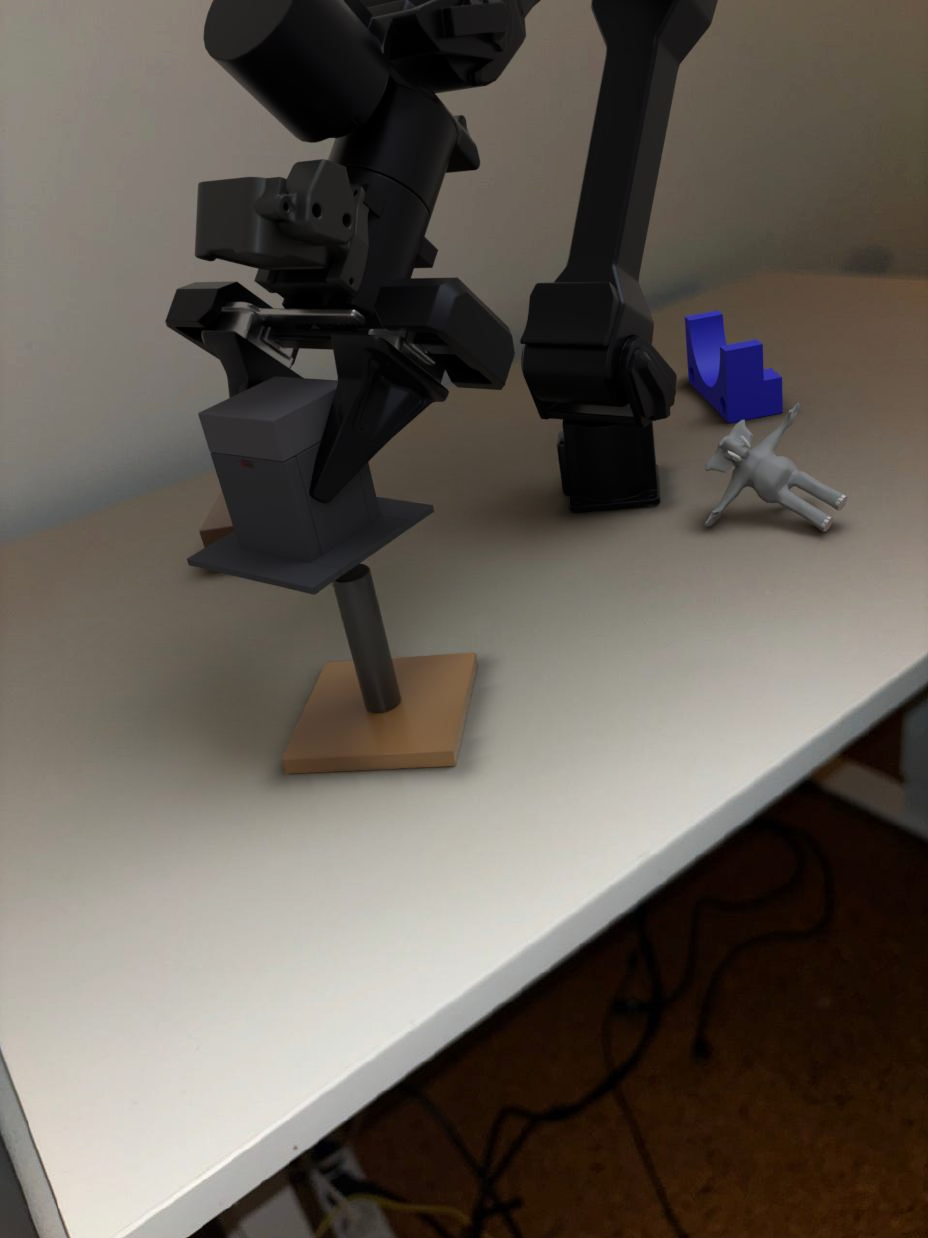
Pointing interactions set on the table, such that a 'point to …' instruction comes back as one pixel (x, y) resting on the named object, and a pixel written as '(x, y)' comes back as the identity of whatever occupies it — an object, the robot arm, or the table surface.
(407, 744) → the hat stand
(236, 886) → the table surface
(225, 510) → the hat block
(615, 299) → the robot arm
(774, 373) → the blue cradle bracket
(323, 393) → the hat
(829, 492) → the elephant figurine
